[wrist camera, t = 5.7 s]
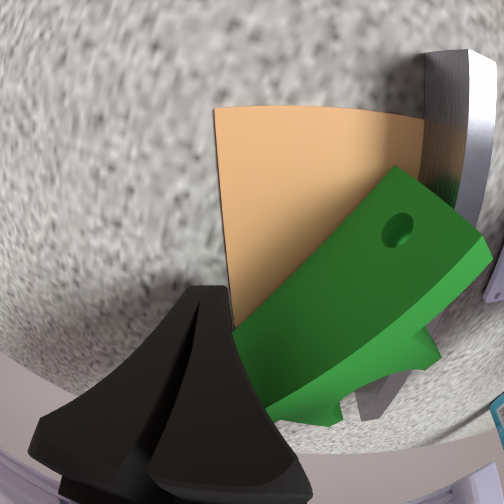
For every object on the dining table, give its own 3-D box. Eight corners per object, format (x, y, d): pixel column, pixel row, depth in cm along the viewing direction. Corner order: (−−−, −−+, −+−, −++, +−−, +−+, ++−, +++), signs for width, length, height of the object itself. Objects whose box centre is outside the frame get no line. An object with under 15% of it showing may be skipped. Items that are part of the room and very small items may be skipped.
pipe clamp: (272, 370, 14) (279, 447, 11) (212, 348, 13) (207, 436, 9) (443, 223, 9) (510, 299, 6) (395, 163, 8) (485, 237, 4)
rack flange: (486, 76, 6) (529, 83, 4) (397, 381, 16) (407, 412, 13) (210, 34, 6) (192, 13, 4) (243, 395, 16) (242, 430, 14)
